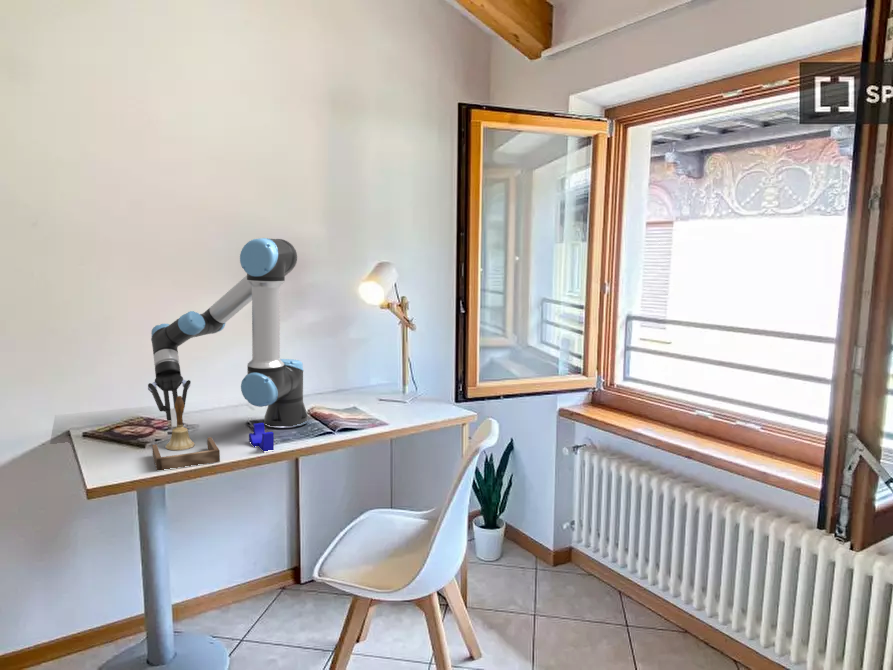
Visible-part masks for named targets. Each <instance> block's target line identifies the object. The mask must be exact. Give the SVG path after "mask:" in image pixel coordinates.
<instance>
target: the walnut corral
mask: <svg viewBox="0 0 893 670" xmlns="http://www.w3.org/2000/svg"><path fill="white" fill-rule="evenodd" d="M206 444H207V450H202V451H196V452H187V453H180V454H174V455H166V456H161V452H160V450H159V447H158V444H151V447H152V448H151V449H152V452H151V453H152V459H153V461H154V465H156V466H155V468H157V469H156V471H157V470H163V471H165V470H164V469H170V468H176V469H179V468H178V467H183V468H186V467H185V466H189V467H192V466H191V465H196V466H199V465H198V464H203V465H207V463H209V464H214V463H220V462H221V457H220V455H221V454H220V449H219V447H218V446H217V443H216V442H215V441H214V439H213V437H212V436H209V437H207V443H206ZM170 470H171V469H170Z"/></svg>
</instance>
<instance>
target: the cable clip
mask: <svg viewBox="0 0 893 670" xmlns="http://www.w3.org/2000/svg"><path fill="white" fill-rule="evenodd" d="M265 428H266V427H265V425H264V422H258V423H253V432H250V433H248V442H251V444H252V445H253V446H254V447H253V446H252V445H251V444H250V445H251V446H252V447H253V448H256V447H255V446H259V447H260V448H261V449H262V450H263V451H268V450H274V451H275V449H274V447H275V446H274V445H275V443H274V441H275V440H274V436H275V435H274V432H273V431H267V432H266V431H265ZM259 447H258V448H259ZM260 448H259V449H260ZM261 449H260V450H261ZM262 450H261V451H262ZM263 451H262V452H263Z"/></svg>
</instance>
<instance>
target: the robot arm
mask: <svg viewBox="0 0 893 670" xmlns="http://www.w3.org/2000/svg"><path fill="white" fill-rule="evenodd" d="M239 255H240V256H239V263H240V266H241V268H242V269H243V271H244V272H245V273H246V275H245V276H244V277H242V279H240V280H239V281H238V282H237V283H236V284H235V285H233V286H232V287H231V288H230V289H228V291H226V293H225V294H223V295H222V296H221V297H220V298H219V299H218V300H216V301H215V302H214V303H213V304H212V305H211V306H210V307H209V308H208V309H207V310H205V311H204V312H202V313H199V312H198V311H197V312H196V311H195V310H192V311H191V310H190V311H188V312H185V313H184V314H182V315H181V316H179V318H177V319H175V320H174V321H173V322H172V323H170V324H169V323H160V324H157V325H155V326H153V328H152V329H151V333H150V334H151V338H150V341H151V346H152V352H153V354H152V355H153V363H154V364H153V365H154V372H155V373H154V374H155V379H154V381H153V382H152V383H148V384H147V390H148V391H149V393H151V395H152V396H153V399H154V401H155V404H156V406H157V408H158V411H159V412H165V415H166V421H167V422H169V421H170V425H171V427H170V428H171V431H172V430H173V429H175V428H176V427H177V414H176V412H175V402H176V399H177V396H179V395H178V389H179V388H180V386H181V385H182V387H183V389H182V395H181V396H182V400H183V402H184V409H185V407H186V401H187V395H188V390H189V388H190V387H191V380H190V379H188V380H186V379H184V377H183V376H182V373H181V366H180V359H179V352H178V348H179V346H181V345H183V344H185V342H187V341H189V340H190V339H193V338H197V337H201V336H205V335H211V334H217V333H218V332H221V331H222V330H224V328H225V326H226V324H227V322H228V321H229V320H231V319H232V318H233V317H234V316H235V315H236V314H238V313H239V312H240V311H241V310H243V308H244V307H246V306H247V305H248V304H250V303H251V321H252V323H251V339H252V341H251V343H252V344H251V346H252V348H251V350H252V351H251V352H252V353H251V354H252V355H251V356H252V359H251V360H250V361H248V363H247V372H246V373H247V374H246V375H245V376H244V377H243V379H242V381H241V384H240V390H241V395H242V396H243V398H244V399H245V400H246V401H247V402H248V403H249V404H250V405H253V406H255V407H259V408H262V407H266V406H267V409H266V411H265V414H264V418H263V420H264V422H263V423H265V424H267V425H270V426H293V425H297V424H301V423H303V422H305V421H307V420H308V421H309V414H308V412H307V408H306V406H305V403H304V364H303V362H302V360H299V359H291V358H280V356H281V355H280V352H281V351H280V348H281V347H280V346H281V345H280V344H281V343H280V342H281V341H280V340H281V338H280V336H281V335H280V334H281V333H280V328H281V327H280V325H281V323H280V321H281V319H280V317H281V315H280V313H281V311H280V307H281V306H280V305H281V303H280V302H281V301H280V300H281V293H280V292H281V286H282V285H283V284H284V283H285V279H286V278H285V277H286V276H287V275H288V274H290V273H291V272H292V271H293V269H294V268H295V267H296V266H297V262H298V252H297V250H296V248H295V246H294V245H293V244H292V243H290V241H288V240H285V239H282V238H268V237H267V238H266V237H260V238H259V237H258V238H254V239H251V240H249V241H247V242H246V243H245V245H243V247H242V248H241V251H240V254H239ZM158 388H159V389H160V390H161V391H162V392H163V400H162V399H161V396H160V394H159V391H158V390H157V389H158ZM169 392H171V394H172V401H173V408H171V402H170V393H169ZM163 401H164V403H163Z"/></svg>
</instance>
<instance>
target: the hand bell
mask: <svg viewBox="0 0 893 670" xmlns="http://www.w3.org/2000/svg"><path fill="white" fill-rule="evenodd" d="M184 410H185V408H184V402H183V400H182V395H178V396H177V399H176V402H175V412H176V414H177V427H176V428H175V429H173V430H172V429H171V435H170V440H169V441H168V443H166V444H165V449H166V450H169V451H184V450H189V449H192V448H194V447H195V442H194V441H192V440H191V438H190V435H189V429H188V428H187V427H184V425H183V424H184V422H183V415H184Z"/></svg>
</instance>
